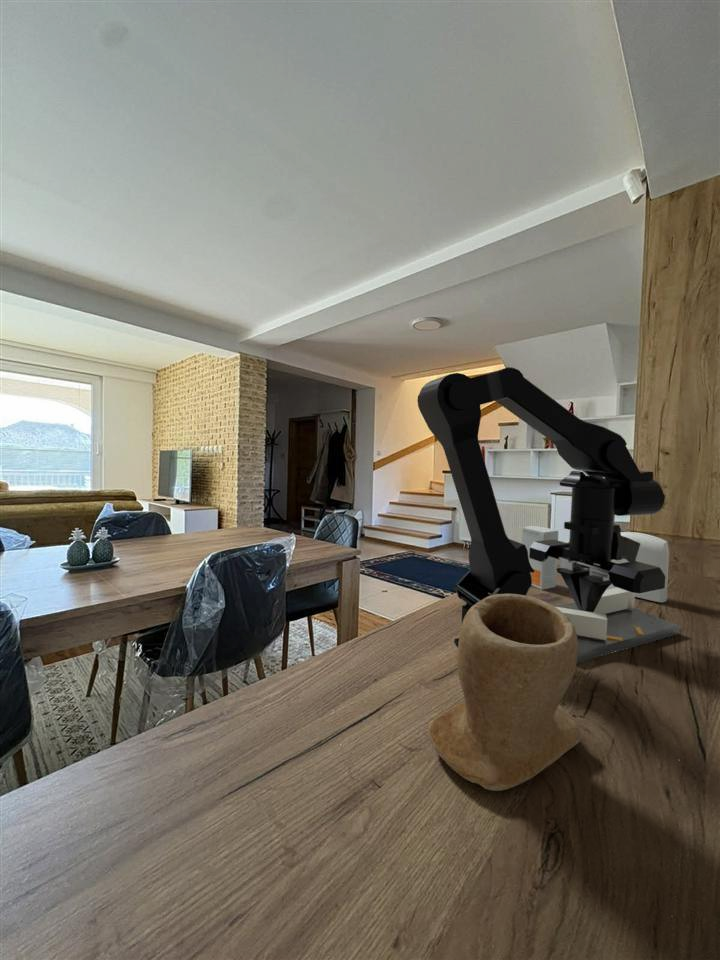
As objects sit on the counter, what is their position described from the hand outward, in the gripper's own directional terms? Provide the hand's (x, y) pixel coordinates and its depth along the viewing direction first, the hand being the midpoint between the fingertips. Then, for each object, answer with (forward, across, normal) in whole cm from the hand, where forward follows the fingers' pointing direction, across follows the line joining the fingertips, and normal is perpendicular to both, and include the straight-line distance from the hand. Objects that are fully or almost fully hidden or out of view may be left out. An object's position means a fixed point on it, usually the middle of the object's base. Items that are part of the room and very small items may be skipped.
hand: (586, 617), depth 64 cm
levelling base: (+3, +1, -2) cm, 4 cm away
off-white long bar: (+1, +3, -9) cm, 10 cm away
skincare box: (+3, +21, -12) cm, 24 cm away
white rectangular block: (+1, 0, +4) cm, 5 cm away
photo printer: (+3, +9, -25) cm, 27 cm away
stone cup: (+3, -14, +28) cm, 32 cm away
